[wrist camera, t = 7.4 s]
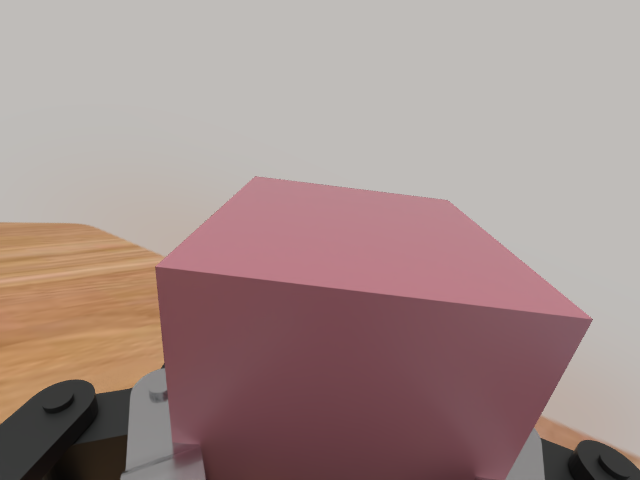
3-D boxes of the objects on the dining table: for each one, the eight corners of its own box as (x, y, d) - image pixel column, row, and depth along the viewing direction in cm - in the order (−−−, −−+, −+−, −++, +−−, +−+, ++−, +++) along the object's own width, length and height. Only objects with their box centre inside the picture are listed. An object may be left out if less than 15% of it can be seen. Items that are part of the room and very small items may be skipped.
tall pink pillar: (190, 631, 9) (155, 266, 5) (246, 427, 15) (255, 176, 10) (409, 655, 9) (592, 319, 5) (379, 442, 15) (447, 200, 11)
